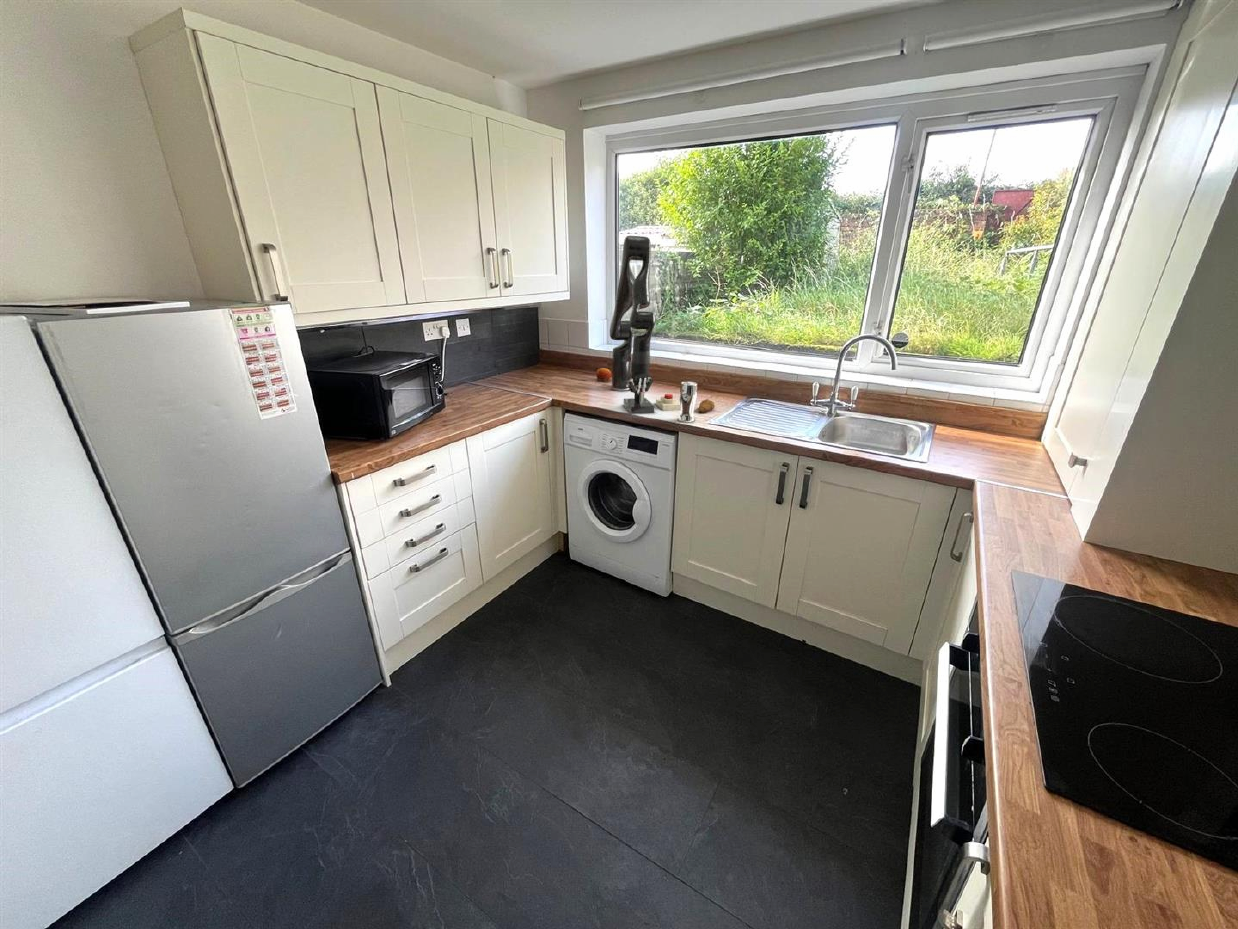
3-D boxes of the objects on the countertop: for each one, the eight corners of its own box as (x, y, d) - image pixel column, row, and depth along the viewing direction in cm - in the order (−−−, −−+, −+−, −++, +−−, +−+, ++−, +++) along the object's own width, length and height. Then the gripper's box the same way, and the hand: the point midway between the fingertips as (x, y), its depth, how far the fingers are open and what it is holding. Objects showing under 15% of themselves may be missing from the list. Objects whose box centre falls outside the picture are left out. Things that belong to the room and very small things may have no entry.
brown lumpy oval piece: (709, 415, 209) (710, 403, 207) (693, 412, 212) (694, 401, 210) (719, 407, 220) (720, 396, 218) (704, 405, 223) (705, 394, 221)
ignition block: (655, 403, 224) (656, 395, 222) (672, 403, 226) (673, 394, 224) (663, 410, 214) (663, 401, 212) (680, 409, 216) (681, 400, 214)
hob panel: (623, 405, 220) (623, 398, 219) (645, 404, 222) (645, 397, 221) (631, 413, 208) (631, 406, 206) (654, 412, 210) (654, 405, 209)
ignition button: (663, 397, 220) (663, 393, 219) (671, 397, 220) (671, 393, 220) (665, 399, 216) (666, 395, 216) (673, 399, 217) (673, 395, 217)
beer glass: (674, 419, 201) (676, 383, 195) (684, 416, 206) (687, 380, 200) (688, 423, 196) (691, 385, 191) (698, 420, 201) (701, 383, 196)
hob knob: (634, 401, 215) (634, 390, 213) (636, 400, 216) (637, 389, 214) (640, 403, 212) (641, 392, 210) (643, 403, 213) (643, 391, 211)
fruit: (594, 379, 261) (595, 365, 263) (596, 384, 269) (598, 370, 270) (609, 380, 260) (610, 366, 261) (611, 385, 268) (612, 371, 269)
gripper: (647, 358, 214) (645, 398, 220) (622, 361, 207) (621, 401, 213) (659, 361, 208) (656, 402, 215) (633, 364, 201) (631, 405, 207)
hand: (638, 401), depth 214 cm, fingers closed
